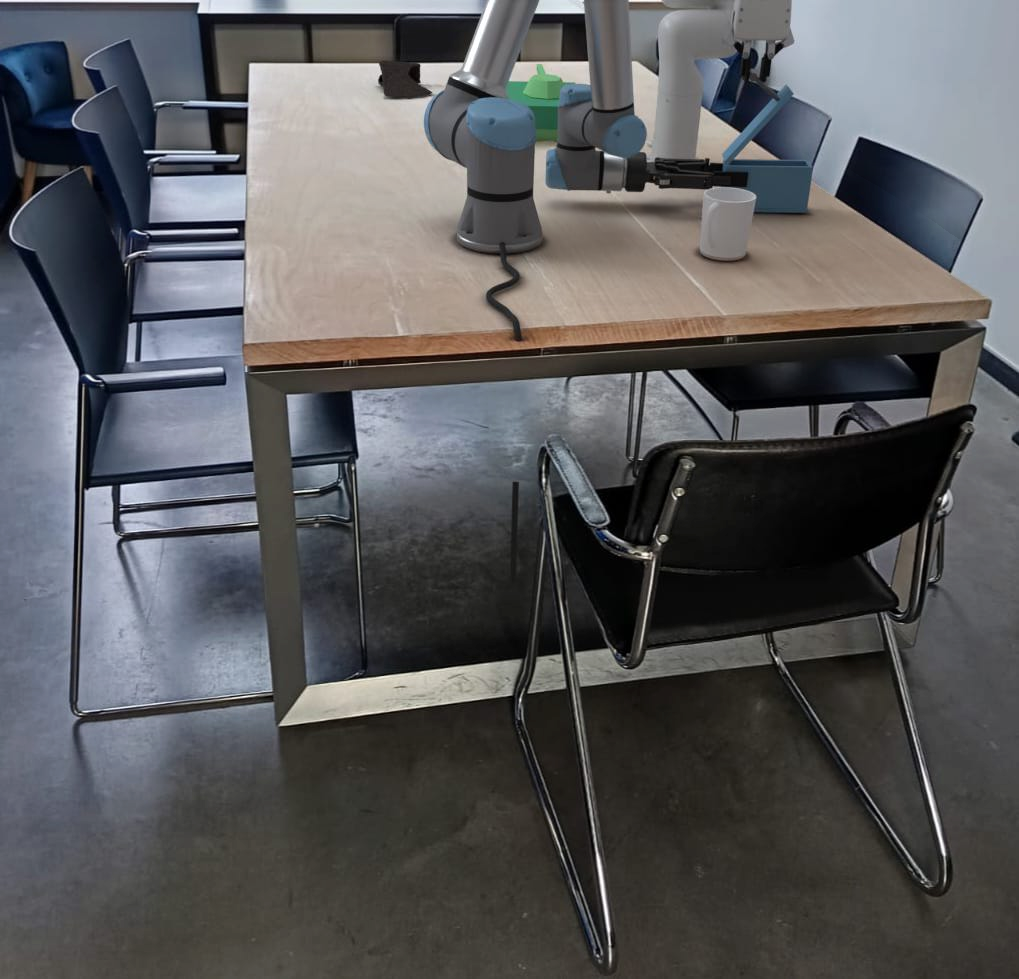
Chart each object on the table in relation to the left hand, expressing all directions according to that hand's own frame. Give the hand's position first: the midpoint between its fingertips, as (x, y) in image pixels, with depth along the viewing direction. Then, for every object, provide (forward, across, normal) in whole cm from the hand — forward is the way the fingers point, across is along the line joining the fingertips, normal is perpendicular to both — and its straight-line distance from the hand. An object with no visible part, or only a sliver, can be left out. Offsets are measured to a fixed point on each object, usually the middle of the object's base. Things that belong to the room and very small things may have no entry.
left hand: (744, 175), depth 212 cm
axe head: (-78, -98, -7) cm, 126 cm away
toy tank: (-40, -62, -7) cm, 74 cm away
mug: (-8, +28, -6) cm, 30 cm away
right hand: (-1, 0, +18) cm, 18 cm away
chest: (+4, 0, -6) cm, 8 cm away
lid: (+1, 0, +9) cm, 9 cm away
